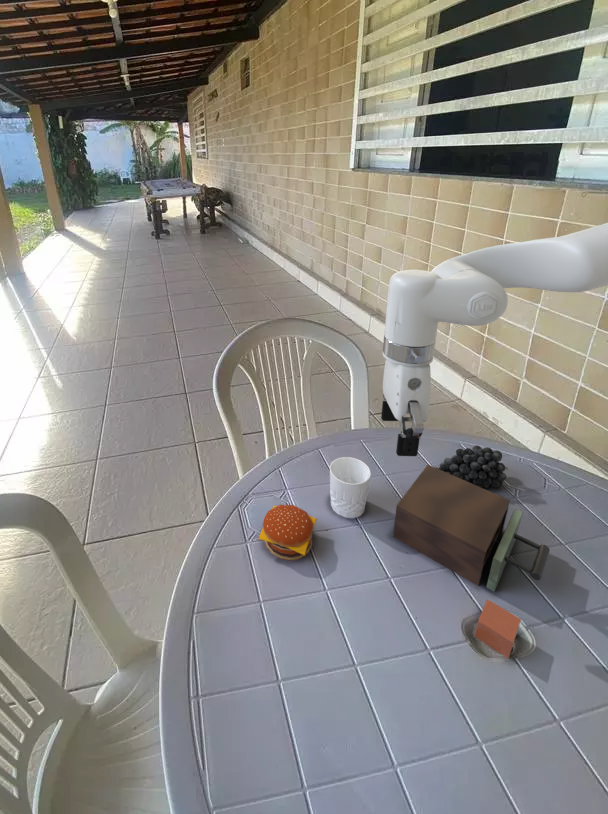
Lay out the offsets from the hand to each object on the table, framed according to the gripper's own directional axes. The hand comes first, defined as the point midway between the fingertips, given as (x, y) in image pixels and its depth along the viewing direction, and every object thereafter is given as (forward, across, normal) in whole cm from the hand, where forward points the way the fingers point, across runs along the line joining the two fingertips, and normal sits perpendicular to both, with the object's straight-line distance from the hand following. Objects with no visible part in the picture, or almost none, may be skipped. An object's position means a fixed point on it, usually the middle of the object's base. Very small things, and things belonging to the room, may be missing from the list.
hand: (397, 436), depth 74 cm
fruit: (+23, +15, -20) cm, 34 cm away
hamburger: (+23, -3, +19) cm, 30 cm away
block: (+22, -19, -11) cm, 31 cm away
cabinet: (+22, -1, -11) cm, 25 cm away
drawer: (+22, -4, -15) cm, 27 cm away
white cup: (+23, +6, +6) cm, 24 cm away
